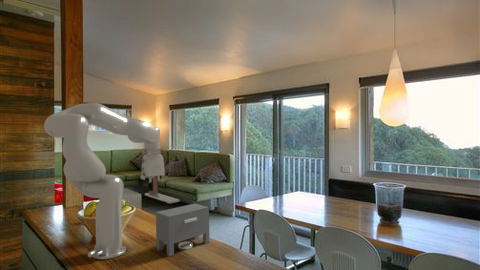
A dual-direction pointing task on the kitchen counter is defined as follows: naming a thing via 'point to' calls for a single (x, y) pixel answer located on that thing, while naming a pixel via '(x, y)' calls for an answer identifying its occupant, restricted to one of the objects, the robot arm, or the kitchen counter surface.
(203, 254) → the kitchen counter surface
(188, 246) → the token
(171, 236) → the cabinet
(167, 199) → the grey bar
